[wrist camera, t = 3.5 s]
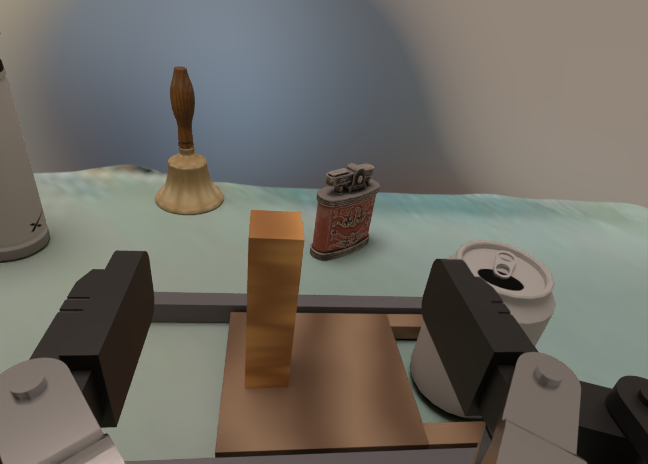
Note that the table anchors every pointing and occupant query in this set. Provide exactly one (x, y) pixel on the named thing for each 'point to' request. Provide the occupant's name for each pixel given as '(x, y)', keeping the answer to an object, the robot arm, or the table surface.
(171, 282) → the table surface
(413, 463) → the rail
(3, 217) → the travel mug
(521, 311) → the can
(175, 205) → the hand bell
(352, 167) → the lighter
